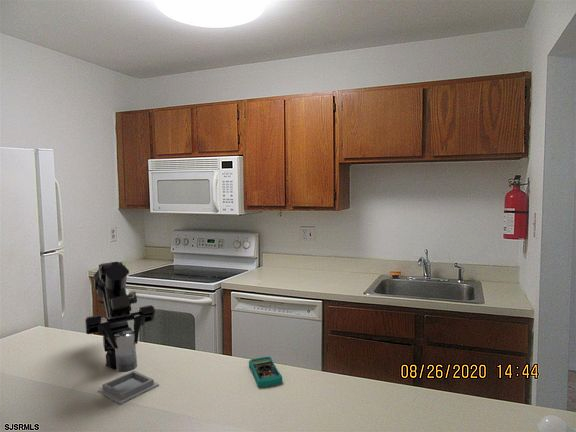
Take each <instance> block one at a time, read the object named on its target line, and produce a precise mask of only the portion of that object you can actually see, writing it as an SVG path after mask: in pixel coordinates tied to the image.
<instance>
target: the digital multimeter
mask: <svg viewBox="0 0 576 432" xmlns="http://www.w3.org/2000/svg"><path fill="white" fill-rule="evenodd" d="M248 367H249V369H250V370H251V372H252V374H253V377H254V379H255V381H256V384H257V385H256V386H257V387H258V388H269V387H274V386H278V385H281V384H283V376H282V374H281V373H280V371H279V369H278V368H277V367H276V365H275V363H274V360H273V358H272V357H271V356H261V357H256V358H252V359H249V360H248Z"/></svg>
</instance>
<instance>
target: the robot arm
mask: <svg viewBox="0 0 576 432" xmlns="http://www.w3.org/2000/svg"><path fill="white" fill-rule="evenodd" d="M129 274H130V269H128V268H127V266H126V265H125V264H123V262H122V261H112V262H103V263H100V264H98V270H97V271H96V272H95V273H94V275H93V286H94V291H96V293H97V296H98V297H99V298H101V299H103V303H104V309H105V313H106V315H105V317H102V316H101V314H97V315H91V316H87V317H86V318H85V321H84V323H85V333H86V335H93V334H98V335H102V344H103V350H104V352H105V362H106V363H105V364H104V365H105V366H106V367H107V368H110V369H111V370H114V371H117V366H116V354H115V349H116V346H115V341H114V335H115V334H116V333H119V332H122V331H134V332H135V344H136V345H137V344H138V343H139V333H140V328H141V326H144V325H145V323H150V322H153V321H154V318H155V313H156V310H155V307H154V306H153V305H144V306H139V308H138V309H139V310H138V311H136V312H132V305H133V304H137V302H138V297H137V294H136V291H132V292H129V293H128V295H127V289H126V285H127V280H128V279H127V277H128V275H129ZM128 321H133V329H132V327H130V326H129V322H128Z"/></svg>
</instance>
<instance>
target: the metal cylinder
mask: <svg viewBox="0 0 576 432" xmlns="http://www.w3.org/2000/svg"><path fill="white" fill-rule="evenodd" d="M114 341H115V346H116V349H115V354H116V366H117V370H116V371H117V372H119V373H129V372H132V371H135V370H136V368H138V361H137V347H136V345H137V344H136V343H135V332H134V330H132V331H122V332H119V333H116V334H115V335H114Z"/></svg>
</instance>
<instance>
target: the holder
mask: <svg viewBox="0 0 576 432" xmlns="http://www.w3.org/2000/svg"><path fill="white" fill-rule="evenodd" d="M154 379H155V378H154ZM154 379H153V378H152V377H149V376H148V375H144V374H143V373H140V372H138V371H136V370H132V371H129V372H126V373H124V374H123V375H120V376H118V377H116V378H115V379H112V380H110V381H107V382H105V383H102V387H101V388H99V389H97V392H98V391H99V392H100V394H101V393H102V394H101V395H103V394H104V395H103V396H105V395H106V396H107V398H108V397H109V399H110V398H111V400H112V401H113V402H116V403H117V404H119V405H123V404H125V403H127V402H129V401H131V400H134V399H135V398H136V396H137V397H138V395H139V396H141V395H143V394H145V393H147V392H149V391H151V390H153V389H155V388H157V387H159V386H160V384H159V383H157V382H156V381H154ZM99 392H98V393H99ZM106 396H105V397H106ZM130 399H131V400H130Z"/></svg>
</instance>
